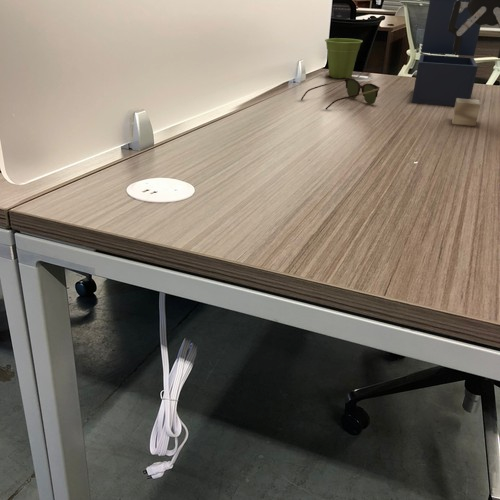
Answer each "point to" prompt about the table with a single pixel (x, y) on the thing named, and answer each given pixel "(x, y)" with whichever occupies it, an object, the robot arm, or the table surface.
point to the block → (466, 112)
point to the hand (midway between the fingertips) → (478, 56)
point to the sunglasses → (355, 90)
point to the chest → (444, 79)
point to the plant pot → (342, 56)
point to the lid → (438, 34)
